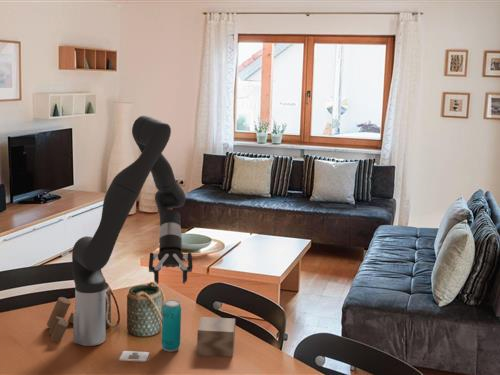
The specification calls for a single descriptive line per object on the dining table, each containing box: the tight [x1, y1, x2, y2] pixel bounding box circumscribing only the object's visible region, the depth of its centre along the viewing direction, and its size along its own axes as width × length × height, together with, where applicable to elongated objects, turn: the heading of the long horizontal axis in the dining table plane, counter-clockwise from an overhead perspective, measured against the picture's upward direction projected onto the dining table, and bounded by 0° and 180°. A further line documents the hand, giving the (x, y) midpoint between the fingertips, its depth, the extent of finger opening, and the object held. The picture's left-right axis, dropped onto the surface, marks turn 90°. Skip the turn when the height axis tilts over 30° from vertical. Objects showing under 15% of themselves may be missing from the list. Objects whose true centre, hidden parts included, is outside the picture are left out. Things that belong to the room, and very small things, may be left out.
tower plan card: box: [118, 350, 150, 363], centre depth 201 cm, size 8×6×1 cm
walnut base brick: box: [196, 316, 236, 358], centre depth 208 cm, size 11×11×8 cm
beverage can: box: [161, 299, 182, 353], centre depth 206 cm, size 6×6×15 cm
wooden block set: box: [46, 296, 74, 343], centre depth 216 cm, size 18×9×10 cm, turn 1°
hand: (170, 282), depth 215 cm, fingers open, 8 cm apart
